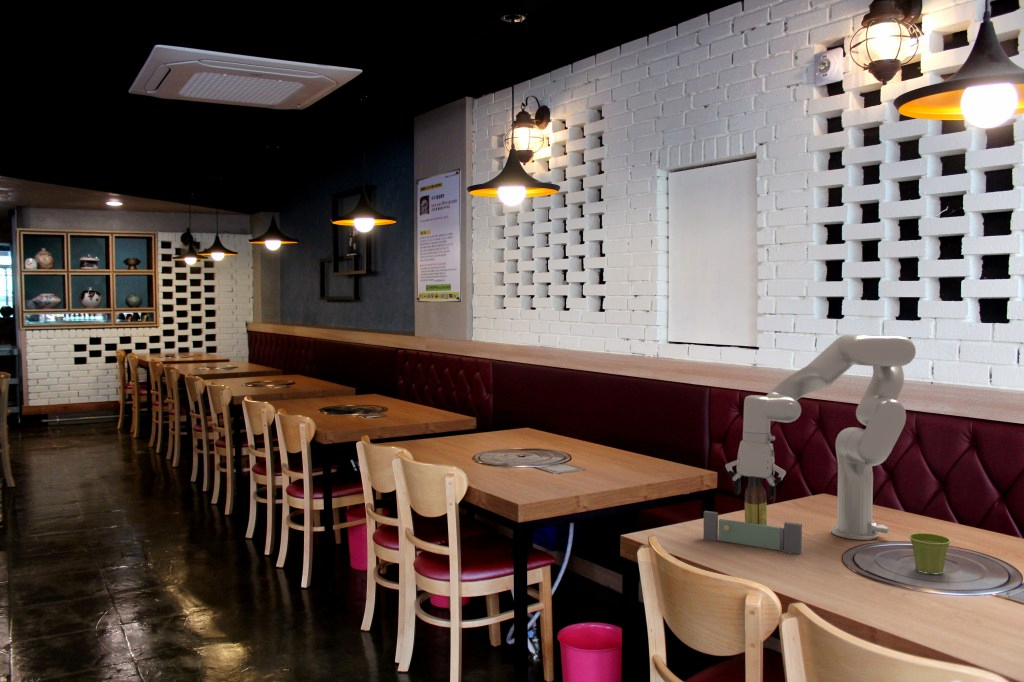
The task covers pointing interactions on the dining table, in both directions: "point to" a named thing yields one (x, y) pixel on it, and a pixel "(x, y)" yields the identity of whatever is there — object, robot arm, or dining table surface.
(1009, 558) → the dining table surface
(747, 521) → the sauce bottle
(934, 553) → the plant pot
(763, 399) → the robot arm
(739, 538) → the door
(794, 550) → the partition wall
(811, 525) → the dining table surface
